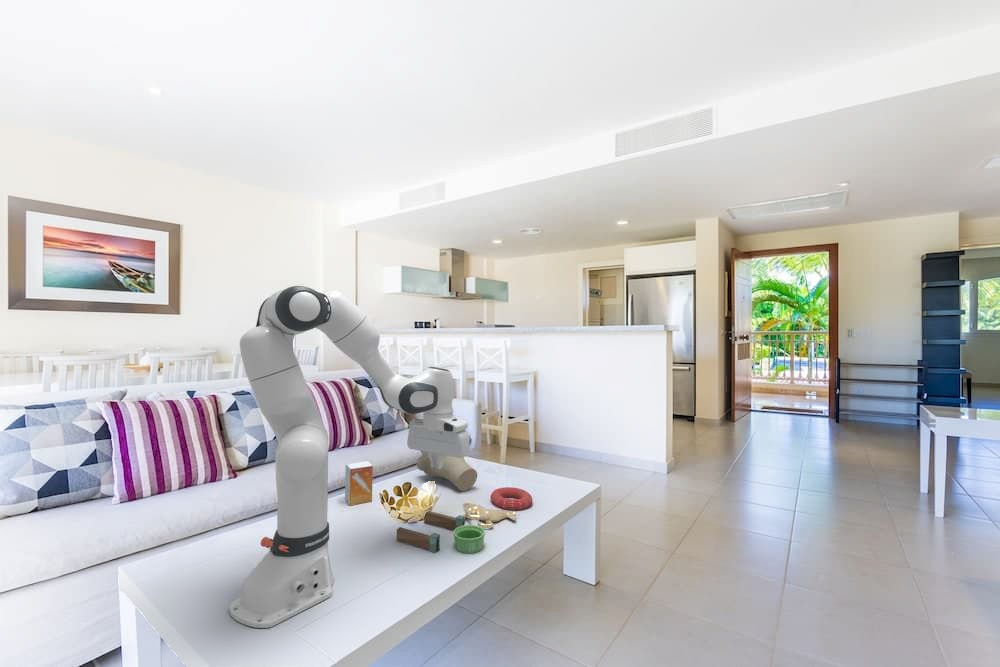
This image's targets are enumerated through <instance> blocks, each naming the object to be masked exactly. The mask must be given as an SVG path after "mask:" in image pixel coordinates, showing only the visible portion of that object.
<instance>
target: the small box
mask: <svg viewBox="0 0 1000 667" xmlns="http://www.w3.org/2000/svg"><path fill="white" fill-rule="evenodd" d="M373 467H374V465H373V464H371V463H370V462H369V460H365V461H359V462H353V463H347V464H345V475H344V476H345V483H344V484H345V485H344V500H345V502H346V503H347V504H348V506H354V505H359V504H364V503H365V504H366V503H372V501H373V480H374V479H373V472H374V470H373V469H374V468H373Z"/></svg>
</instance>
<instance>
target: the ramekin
mask: <svg viewBox="0 0 1000 667" xmlns="http://www.w3.org/2000/svg"><path fill="white" fill-rule="evenodd" d="M485 534H486V531H485V528H481V527H479V526H478V525H475V524H465V525H463V526H460V527H457V528H456V529H455V530H454V531H453V537H454V539H453V540H454V546H455V549H456V550H457V552H458V551H459V552H460V553H464V554H473V553H478V552H480V551H481V550H482V549H483V547H484V539H485Z"/></svg>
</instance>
